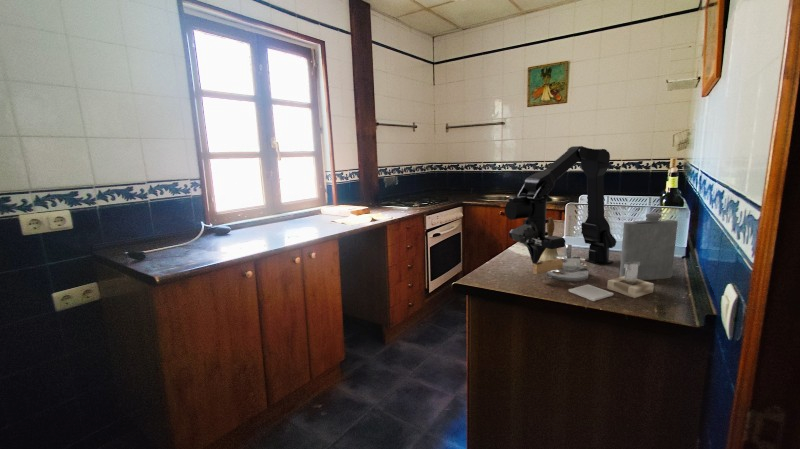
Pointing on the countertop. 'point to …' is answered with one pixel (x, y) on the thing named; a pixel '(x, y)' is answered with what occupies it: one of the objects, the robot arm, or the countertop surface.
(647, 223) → the hip flask
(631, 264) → the shiny silver metal piece
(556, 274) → the base
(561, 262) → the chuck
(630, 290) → the socket
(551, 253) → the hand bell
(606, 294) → the white square plate
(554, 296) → the countertop surface
